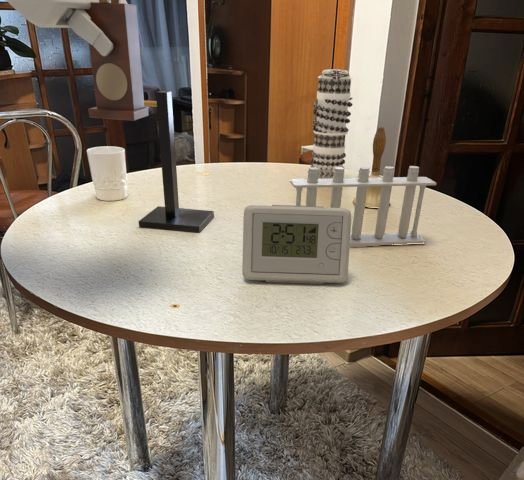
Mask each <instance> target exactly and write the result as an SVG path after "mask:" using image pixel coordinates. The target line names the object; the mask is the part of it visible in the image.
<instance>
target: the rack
mask: <svg viewBox="0 0 524 480" xmlns="http://www.w3.org/2000/svg"><path fill="white" fill-rule="evenodd" d="M172 93H173V92H172V91H171V90H159V91H156V92H155V100H144V107H154V108H156V111H157V125H158V139H159V149H160V150H159V151H160V152H159V153H160V163H161V176H162V187H163V199H164V206H160V205H159V206H156V207H155V208H154V209H152V210H151V211H150V212H148V213H147V214H146V215H145V216H143V217H142V218H141V219H139V220H138V228H143V229H154V230H163V231H164V230H165V231H173V232H174V231H175V232H185V233H196V234H200V233H201V232H202V231H203V229H204V228H205V227H206V226H207V225H208V224H209V223H210V222H211V221H212V220H213V219H214V218H215V211H214V210H207V209H206V210H205V209H194V208H193V209H192V208H183V207H182V208H181V207H180V202H179V189H178V188H179V187H178V173H177V172H178V171H177V157H176V141H175V140H176V139H175V125H174V111H173V95H172Z"/></svg>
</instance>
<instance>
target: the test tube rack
mask: <svg viewBox="0 0 524 480" xmlns="http://www.w3.org/2000/svg"><path fill="white" fill-rule="evenodd" d="M343 167H344V166H343ZM343 167H335V168H334V171H333V172H334V175H333V178H325V179H318V173H319V172H318V168H315V167H311V166H310V167H308V170H307V178H289V179H288V181H289V183H290V185H292V187H293V188H294V189H295V191H296V196H295V197H296V198H295V202H296V203H295V206H302V191H303V189H306V196H305V197H306V198H305V206H317V195H318V188H331V195H330V205H329V206H330V207H329V208H341V204H342V196H343V188H356V193H355V197H356V201H355V204H354V208H353V209H354V210H353V216H352V217H353V219H352V225H351V234H350V248H367V247H366V246H373V247H379V246H378V245H392V244H393V245H394V244H407V243H423V242H424V243H425V244H426V239H424V238H423V237H422V236H421V235H420V234H418V227H419V221H420V216H421V211H422V205H423V199H424V194H425V190H426V187H427V186H437V182H436V181H434V180H432V179H431V178H428V177H427V176H419V172H420V167H419V166H416V165H409V167H408V169H407V176H401V177H400V176H397V177H395V172H396V170H395V167H394V166H388V165H387V166H384V169H383V175H382V178H369V176H370V167H369V166H360V167H359V170H358V177H345V167H344V168H343ZM368 186H382V187H381V194H380V201H379V208H378V209H377V216H376V222H375V232H374V233H362V232H363V231H362V230H363V224H364V223H363V222H364V215H365V209H366V208H365V201H366V194H367V187H368ZM417 186H419V191H418V198H417V203H416V209H415V213H414V219H413V224H412V229H411V232H409V229H410V223H411V217H412V211H413V205H414V200H415V194H416V189H417ZM393 187H405V189H404V194H403V199H402V204H401V205H402V206H401V210H400V211H401V213H400V218H399V223H398V230H397V232H391V233H390V232H389V233H388V232H387V233H385V232H386V227H387V222H388V221H387V220H388V214H389V207H390V206H389V202H390V203H391V196H392V195H391V194H392V188H393Z"/></svg>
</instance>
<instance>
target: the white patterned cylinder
mask: <svg viewBox="0 0 524 480" xmlns="http://www.w3.org/2000/svg"><path fill="white" fill-rule="evenodd" d="M317 78H318V84H317V91H316V101H314V102H313V108H314V109H313V110H312V111H313V112H312V114H313V115H314V116H315V117H314V118H313V119H312V123H313V125H312V130H313V132H312V133H314V139H313V140H314V142H313V145H312V151H311V153H310V155H311V157H312V158H310V162H311V163H312V164H311V165H310V167H315V168H318V172H319V173H318V179H325V178H333V175H334V172H333V171H334V168H335V167H343V168H344V169H345V167H344V165H345V164H346V160H345V159H344V158H346V157H347V155H346V152H345V151H346V145H345V143H346V136H347V135H348V132H349V128H348V127H347V125H348V124H349V123H351V120H350V118H349V117H350V116H351V115H352V113H351V111H349V110H348V109H349V108H351V107H352V106H353V105H354V104H353V103H352V102H351V101H352V100H353V97H351V94H352V93H351V86H352V80H353V77H351V76H350V73H349V71H348V70H346V69H333V68H332V69H324V70H323V71H322V72H321V73H320V75H319V76H317Z"/></svg>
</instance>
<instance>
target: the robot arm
mask: <svg viewBox="0 0 524 480" xmlns="http://www.w3.org/2000/svg"><path fill="white" fill-rule="evenodd" d="M6 2H7V3H8V4H9V5H10V6H11V7H12V8H13V9H14V10H15V11H17V13H18V14H20V16H21V17H23V18H24V19H25V20H27V22H29V23H31V24H32V25H34V26H36V27H38V28H39V29H43V28H44V29H46V28H47V29H50V28H51V29H71V30H72V31H73V32H74V33H75V34H76V35H77V36H78V37H80V38H81V39H83V40H84V41H86V42H87V43H88V44H89V43H90V44H91V45H93V46H94V47H95V48H96V50H97V51H98V52H99V53H100V54H101V55H102V56H110V55H111V54H112V53H113V52H114V51H115V49H116V43H115V42H114V41H113V40H112V39H111V37H110V36H109V35H108V34H107V33H104V32H103V31H101V30H100V29H99V28H98V27H97V26H96V25H95V24H94V23H93V22H92V21H91V17H90V16H89V15H88V14H87V13H86V12H85V10H84V9H90V7H91V4H90V2H98V3H100V2H99V0H6ZM110 3H111V0H110ZM121 3H124V4H129V3H128V2H127V0H121Z"/></svg>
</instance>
